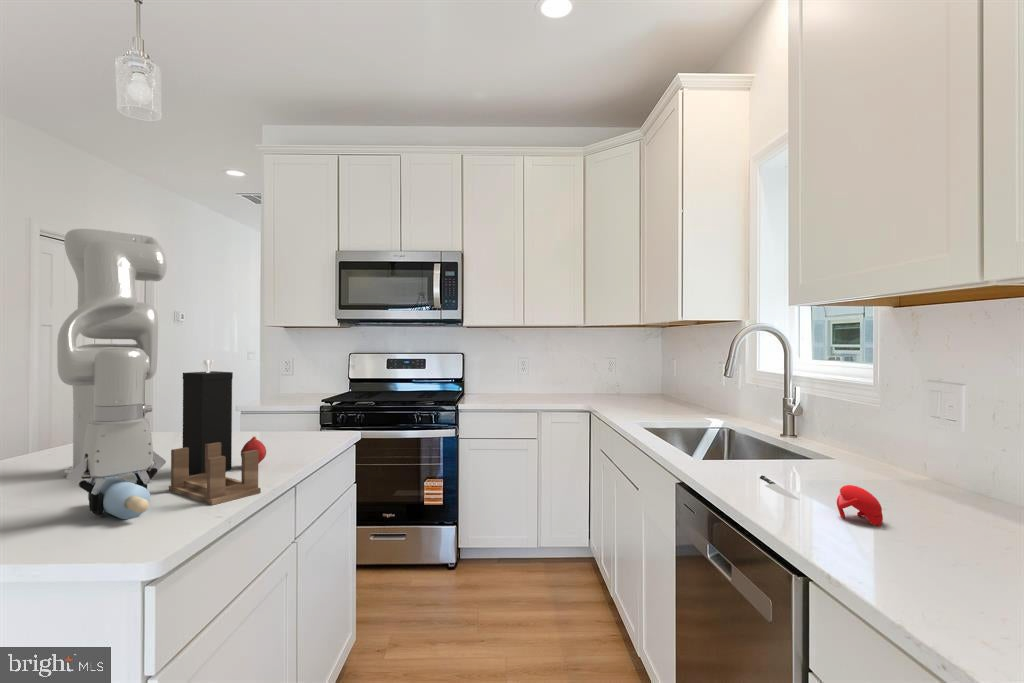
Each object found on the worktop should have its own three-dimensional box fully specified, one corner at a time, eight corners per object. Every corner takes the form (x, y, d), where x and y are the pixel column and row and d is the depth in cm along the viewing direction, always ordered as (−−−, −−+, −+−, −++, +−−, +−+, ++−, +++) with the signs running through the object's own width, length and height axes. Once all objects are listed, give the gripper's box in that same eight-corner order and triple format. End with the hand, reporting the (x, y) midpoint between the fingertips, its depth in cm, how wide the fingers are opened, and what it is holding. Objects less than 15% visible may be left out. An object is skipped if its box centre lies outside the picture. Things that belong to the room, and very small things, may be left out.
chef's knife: (789, 504, 105) (804, 503, 105) (788, 498, 105) (803, 498, 105) (751, 479, 125) (763, 478, 124) (750, 474, 125) (763, 474, 124)
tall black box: (181, 473, 125) (182, 359, 125) (213, 466, 132) (214, 358, 132) (200, 477, 122) (201, 360, 122) (232, 470, 129) (233, 359, 129)
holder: (168, 490, 111) (169, 449, 111) (216, 480, 119) (216, 441, 119) (212, 505, 101) (212, 459, 101) (260, 492, 109) (260, 451, 109)
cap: (823, 497, 98) (845, 488, 93) (842, 484, 100) (865, 475, 95) (853, 536, 95) (878, 529, 90) (872, 521, 97) (898, 514, 92)
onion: (235, 469, 129) (235, 437, 129) (250, 463, 135) (251, 433, 135) (256, 470, 128) (256, 438, 128) (270, 464, 134) (270, 434, 134)
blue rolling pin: (80, 508, 99) (79, 477, 99) (116, 499, 104) (116, 470, 104) (122, 528, 89) (121, 493, 88) (160, 517, 94) (160, 485, 94)
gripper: (161, 407, 105) (160, 494, 105) (53, 417, 91) (52, 518, 91) (179, 410, 101) (178, 500, 101) (69, 421, 87) (68, 527, 87)
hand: (119, 508), depth 96 cm, fingers closed on blue rolling pin, 6 cm apart
